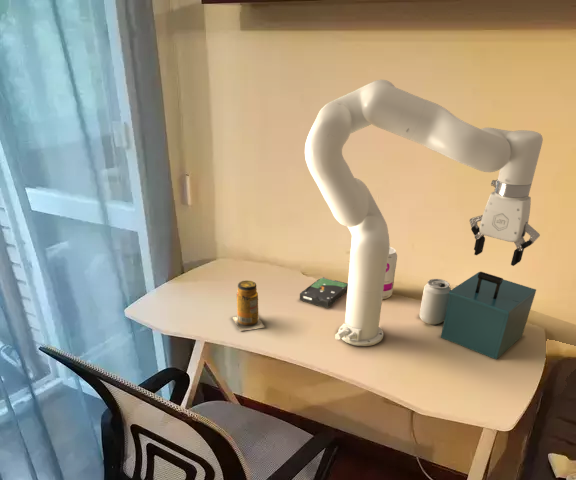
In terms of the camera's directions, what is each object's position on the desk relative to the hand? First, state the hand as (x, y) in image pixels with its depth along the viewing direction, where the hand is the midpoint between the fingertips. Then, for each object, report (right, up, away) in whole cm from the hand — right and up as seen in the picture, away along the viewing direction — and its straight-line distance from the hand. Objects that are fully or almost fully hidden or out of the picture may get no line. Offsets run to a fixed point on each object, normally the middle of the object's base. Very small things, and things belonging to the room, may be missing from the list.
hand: (496, 258), depth 136 cm
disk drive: (-41, -4, +37) cm, 55 cm away
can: (-10, -13, +25) cm, 30 cm away
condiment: (-64, -14, +22) cm, 69 cm away
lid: (+2, -7, +9) cm, 12 cm away
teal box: (+3, -18, +17) cm, 25 cm away
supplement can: (-23, -3, +38) cm, 45 cm away
